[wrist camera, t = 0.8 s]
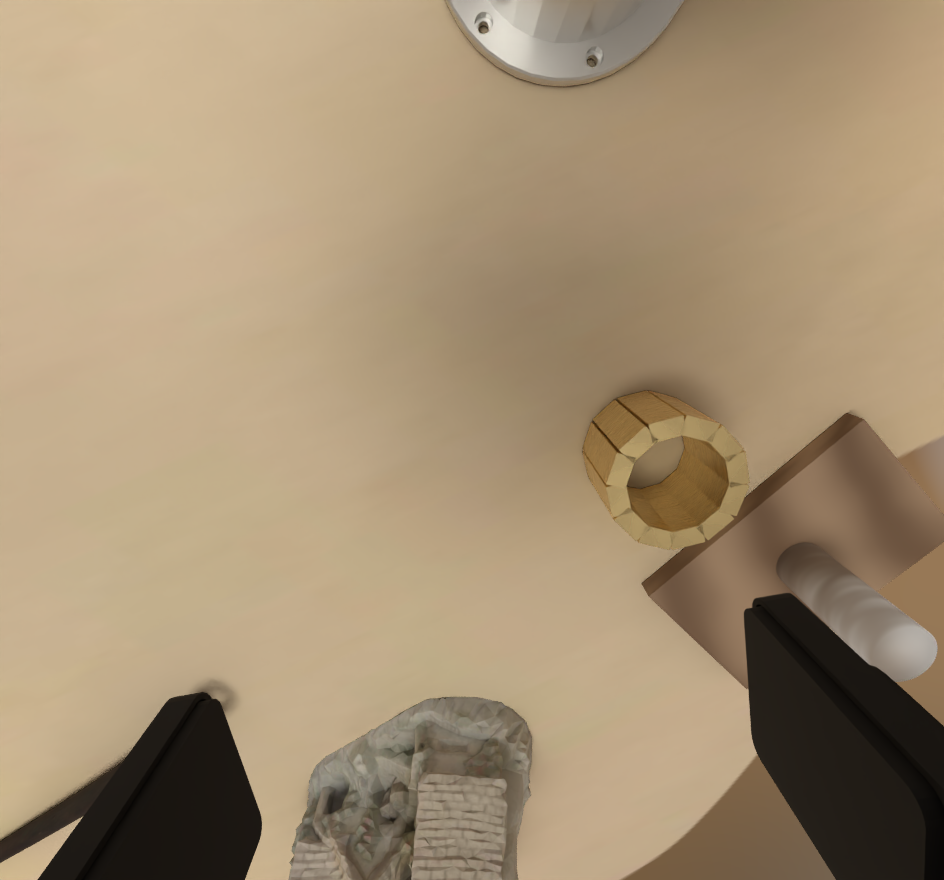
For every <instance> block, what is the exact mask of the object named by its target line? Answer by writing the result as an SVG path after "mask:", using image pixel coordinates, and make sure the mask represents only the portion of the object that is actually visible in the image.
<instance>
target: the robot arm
mask: <svg viewBox="0 0 944 880" xmlns="http://www.w3.org/2000/svg"><path fill="white" fill-rule="evenodd" d="M445 1H446V4H447V6H448V8H449V9H450V11H451V13H452V15H453V17H454V19H455V21H456V23H457V24H458V26H459V28H460V29H461V31H462V32H463V33H464V34H465V36H466V37H467V38H468V40H469V41H470V42H471V43H472V45H473V46H474V47H475V48H476V49H477V50H478V51H479V52H480V53H481V54H482V55H484V56H485V57H486V58H487V59H488V60H489V61H491V62H492V63H493V64H494V65H495V66H497V67H499V68H500V69H502V70H504V71H506V72H508V73H509V74H511V75H513V76H515V77H517V78H519V79H523V80H526V81H529V82H533V83H536V84H539V85H549V86H563V87H565V86H572V85H579V84H586V83H590V82H593V81H595V80H598V79H601V78H604V77H606V76H609V75H612V74H613V73H615V72H617V71H618V70H620V69H621V68H623V67H625V66H626V65H628V64H630V63H631V62H633V61H634V60H635V59H636V58H637V57H639V56H640V55H641V54H642V53H643V52H644V51H645V50H646V49H647V48H649V47H650V46H651V45H652V44H653V43H654V42H655V40H656V39H657V38H658V37H659V35H660V34H661V33H662V32H663V31H664V30H665V28H666V27H667V26H668V25H669V23H670V22H671V20H672V19H673V17H674V15H675V14H676V12H677V11H678V9H679V8H680V6H681V5H682V3H683V2H684V0H445ZM481 25H485V26H486V27H487V28H488V32H487V33H486V34H481V33H480V32H479V31H478V29H479V27H480V26H481ZM589 58H592V59H594V60H595V63H596V65H595V67H590V66H589V65H588V64H587V59H589ZM744 629H745V644H746V659H747V674H748V689H749V703H750V718H751V733H752V739H753V743H754V746H755V749H756V752H757V754H758V756H759V758H760V760H761V762H762V763H763V764H764V766H765V768H766V770H767V771H768V773H769V774H770V776H771V777H772V779H773V780H774V782H775V784H776V785H777V787H778V788H779V790H780V792H781V793H782V795H783V796H784V798H785V799H786V801H787V803H788V804H789V806H790V808H791V809H792V811H793V812H794V814H795V815H796V817H797V818H798V820H799V822H800V823H801V825H802V827H803V828H804V830H805V831H806V833H807V834H808V836H809V837H810V839H811V841H812V842H813V844H814V845H815V847H816V849H817V850H818V852H819V853H820V855H821V857H822V858H823V860H824V861H825V863H826V864H827V866H828V868H829V869H830V871H831V872H832V874H833V876H834V877H835V879H836V880H944V726H943V725H942V724H941V723H939V722H938V721H937V720H936V719H935V718H934V717H933V716H932V715H931V714H930V713H928V712H927V711H926V710H925V709H924V708H923V707H922V706H921V705H920V704H919V703H918V702H916V701H915V700H914V699H913V698H912V697H911V696H910V695H909V694H907V692H905V691H904V690H903V689H902V688H901V687H900V686H899V685H898V684H897V683H895V682H894V681H893V680H892V679H891V678H890V677H889V676H888V675H887V674H886V673H884V672H883V671H881V670H880V669H879V668H877V667H875V666H872V665H869V664H868V663H867V662H866V661H865V660H864V659H862V658H861V657H860V656H859V655H858V654H857V653H856V652H855V651H854V650H853V649H852V648H851V647H849V646H848V645H847V644H846V643H845V642H844V641H843V640H842V639H841V638H840V637H839V636H838V635H836V634H835V633H834V632H833V631H832V630H831V629H830V628H829V627H828V626H827V625H826V624H825V623H823V622H822V621H821V620H820V619H819V618H818V617H817V616H816V615H815V614H814V613H813V612H812V611H810V610H809V609H808V608H807V607H806V606H805V605H804V604H803V603H802V602H801V601H800V600H799V599H797V598H796V597H795V596H794V595H792V594H791V593H782V594H776V595H770V596H765V597H759V598H755V599H754V600H753V603H752V608H747V609H745V611H744ZM261 830H262V820H261V814H260V811H259V808H258V806H257V803H256V800H255V797H254V795H253V792H252V789H251V786H250V783H249V781H248V778H247V775H246V772H245V770H244V767H243V764H242V761H241V758H240V756H239V753H238V750H237V747H236V745H235V742H234V739H233V736H232V734H231V731H230V728H229V725H228V722H227V720H226V717H225V714H224V711H223V709H222V706H221V704H220V702H219V701H218V700H217V699H211V697H210V695H208V694H207V693H204V692H201V693H196V694H190V695H184V696H178V697H173V698H171V699H169V700H168V701H167V702H166V703H165V705H164V706H163V707H162V709H161V710H160V712H159V713H158V714H157V716H156V717H155V718H154V720H153V721H152V723H151V724H150V725H149V727H148V728H147V729H146V731H145V732H144V734H143V735H142V736H141V738H140V739H139V740H138V742H137V743H136V745H135V746H134V747H133V749H132V750H131V752H130V753H129V754H128V756H127V757H126V758H125V760H124V761H123V763H122V764H121V765H120V767H119V768H118V769H117V771H116V772H115V774H114V775H113V776H112V778H111V779H110V781H109V782H108V783H107V785H106V786H105V787H104V789H103V790H102V792H101V793H100V794H99V796H98V797H97V798H96V800H95V801H94V803H93V804H92V805H91V807H90V808H89V809H88V811H87V812H86V814H85V815H84V816H83V818H82V819H81V821H80V822H79V823H78V825H77V826H76V827H75V829H74V830H73V832H72V833H71V834H70V836H69V837H68V838H67V840H66V841H65V843H64V844H63V845H62V847H61V848H60V849H59V851H58V852H57V854H56V855H55V856H54V858H53V859H52V861H51V862H50V863H49V865H48V866H47V867H46V869H45V870H44V872H43V873H42V874H41V876H40V877H39V878H38V880H245V878H246V875H247V872H248V870H249V867H250V864H251V862H252V859H253V856H254V854H255V851H256V848H257V846H258V843H259V840H260V836H261Z"/></svg>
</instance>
